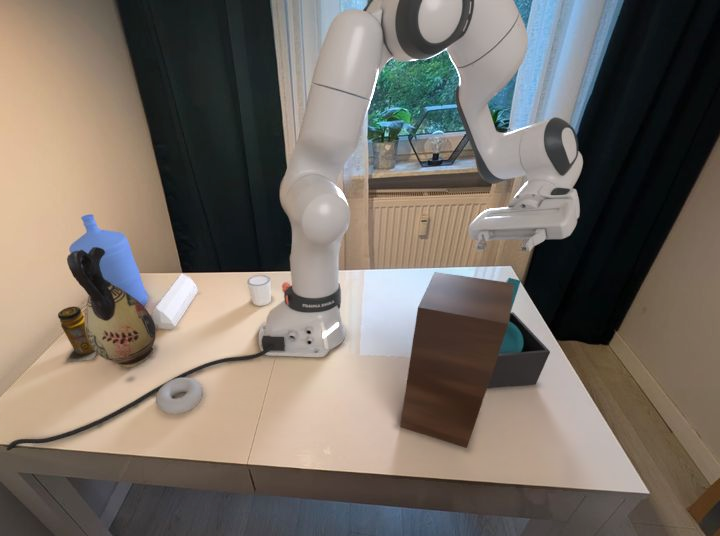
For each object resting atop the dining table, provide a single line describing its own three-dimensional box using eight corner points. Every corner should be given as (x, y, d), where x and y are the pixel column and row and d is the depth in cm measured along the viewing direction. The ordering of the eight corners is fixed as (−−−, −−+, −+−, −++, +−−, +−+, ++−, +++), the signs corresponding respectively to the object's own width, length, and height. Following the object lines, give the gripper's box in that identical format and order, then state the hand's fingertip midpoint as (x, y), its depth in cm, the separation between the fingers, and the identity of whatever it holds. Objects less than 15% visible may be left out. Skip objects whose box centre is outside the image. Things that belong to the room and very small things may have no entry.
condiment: (105, 340, 104) (87, 303, 97) (93, 359, 98) (73, 321, 90) (79, 342, 104) (59, 305, 97) (66, 362, 98) (43, 324, 90)
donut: (148, 408, 82) (181, 424, 78) (143, 397, 80) (176, 412, 75) (181, 380, 89) (213, 393, 84) (177, 369, 87) (209, 382, 82)
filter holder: (486, 279, 88) (493, 269, 83) (533, 291, 85) (542, 282, 80) (459, 359, 84) (464, 354, 79) (507, 375, 81) (516, 370, 76)
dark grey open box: (466, 390, 78) (476, 357, 73) (442, 348, 90) (449, 317, 84) (535, 384, 78) (550, 351, 73) (502, 343, 89) (513, 312, 84)
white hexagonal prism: (175, 321, 101) (203, 279, 120) (149, 310, 100) (181, 269, 119) (169, 340, 106) (196, 296, 124) (144, 330, 105) (176, 287, 123)
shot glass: (274, 294, 116) (271, 274, 112) (271, 306, 111) (268, 285, 107) (252, 295, 117) (249, 274, 113) (248, 306, 112) (245, 286, 108)
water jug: (156, 291, 124) (126, 205, 107) (137, 318, 112) (100, 225, 95) (111, 293, 126) (75, 208, 109) (88, 319, 114) (43, 228, 97)
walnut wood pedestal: (414, 386, 80) (434, 271, 64) (475, 403, 76) (514, 283, 59) (399, 427, 72) (417, 307, 56) (466, 448, 67) (508, 323, 51)
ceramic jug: (112, 341, 103) (62, 236, 85) (168, 335, 104) (130, 228, 85) (91, 384, 90) (26, 269, 72) (155, 376, 90) (107, 260, 72)
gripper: (482, 198, 89) (451, 237, 85) (586, 187, 72) (552, 234, 69) (488, 221, 92) (459, 259, 89) (588, 215, 76) (557, 261, 72)
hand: (500, 248), depth 79 cm, fingers open, 8 cm apart
